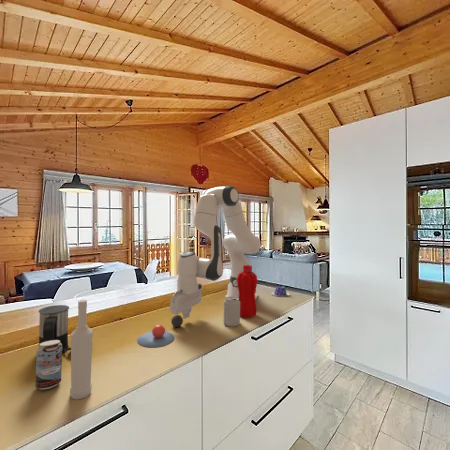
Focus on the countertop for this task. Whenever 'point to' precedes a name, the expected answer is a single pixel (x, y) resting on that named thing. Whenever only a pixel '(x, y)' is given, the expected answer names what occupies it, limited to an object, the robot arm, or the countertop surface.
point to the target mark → (155, 340)
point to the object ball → (158, 331)
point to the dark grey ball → (177, 321)
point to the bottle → (81, 355)
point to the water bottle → (247, 292)
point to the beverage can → (48, 364)
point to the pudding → (280, 291)
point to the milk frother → (54, 325)
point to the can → (231, 311)
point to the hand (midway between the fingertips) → (186, 317)
